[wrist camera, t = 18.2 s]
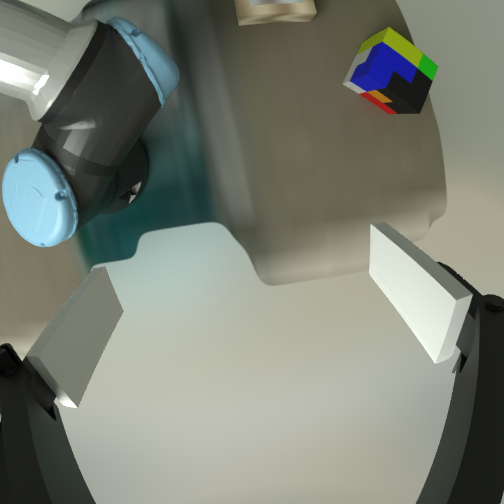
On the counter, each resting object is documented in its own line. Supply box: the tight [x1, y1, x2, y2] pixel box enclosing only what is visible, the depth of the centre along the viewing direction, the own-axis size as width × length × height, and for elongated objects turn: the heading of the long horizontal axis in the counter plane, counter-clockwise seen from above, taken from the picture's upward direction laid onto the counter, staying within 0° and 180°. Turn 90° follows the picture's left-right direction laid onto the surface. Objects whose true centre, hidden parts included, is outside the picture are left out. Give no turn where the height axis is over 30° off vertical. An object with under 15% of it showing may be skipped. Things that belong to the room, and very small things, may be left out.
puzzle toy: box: [343, 27, 438, 114], centre depth 34 cm, size 10×10×10 cm
